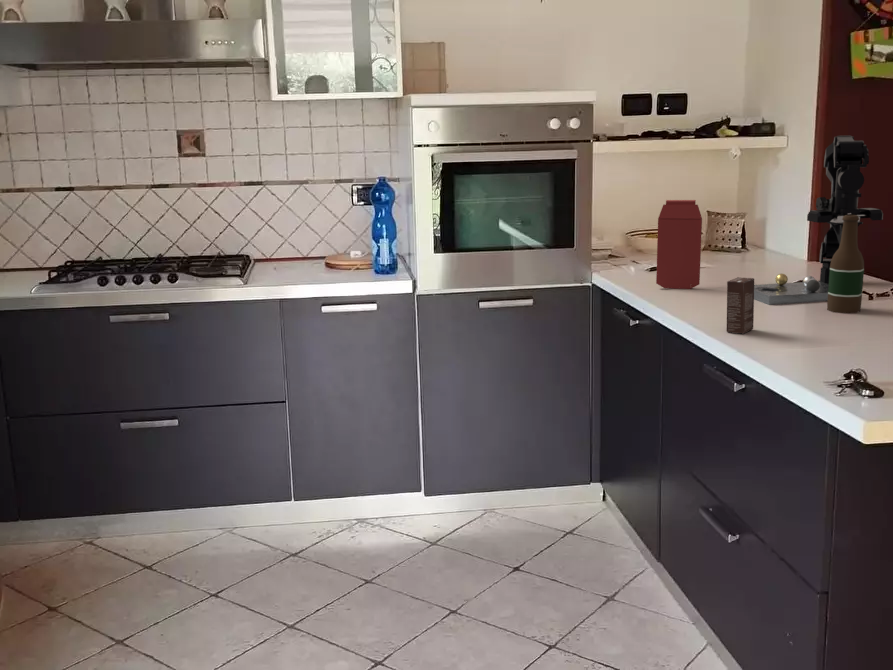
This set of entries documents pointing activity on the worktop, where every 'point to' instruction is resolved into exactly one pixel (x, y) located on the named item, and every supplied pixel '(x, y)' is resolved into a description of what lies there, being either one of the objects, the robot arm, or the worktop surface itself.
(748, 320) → the box
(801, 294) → the plate
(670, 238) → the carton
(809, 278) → the steel ball
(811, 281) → the black ball
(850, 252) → the beer bottle
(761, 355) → the worktop surface
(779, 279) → the brass ball
